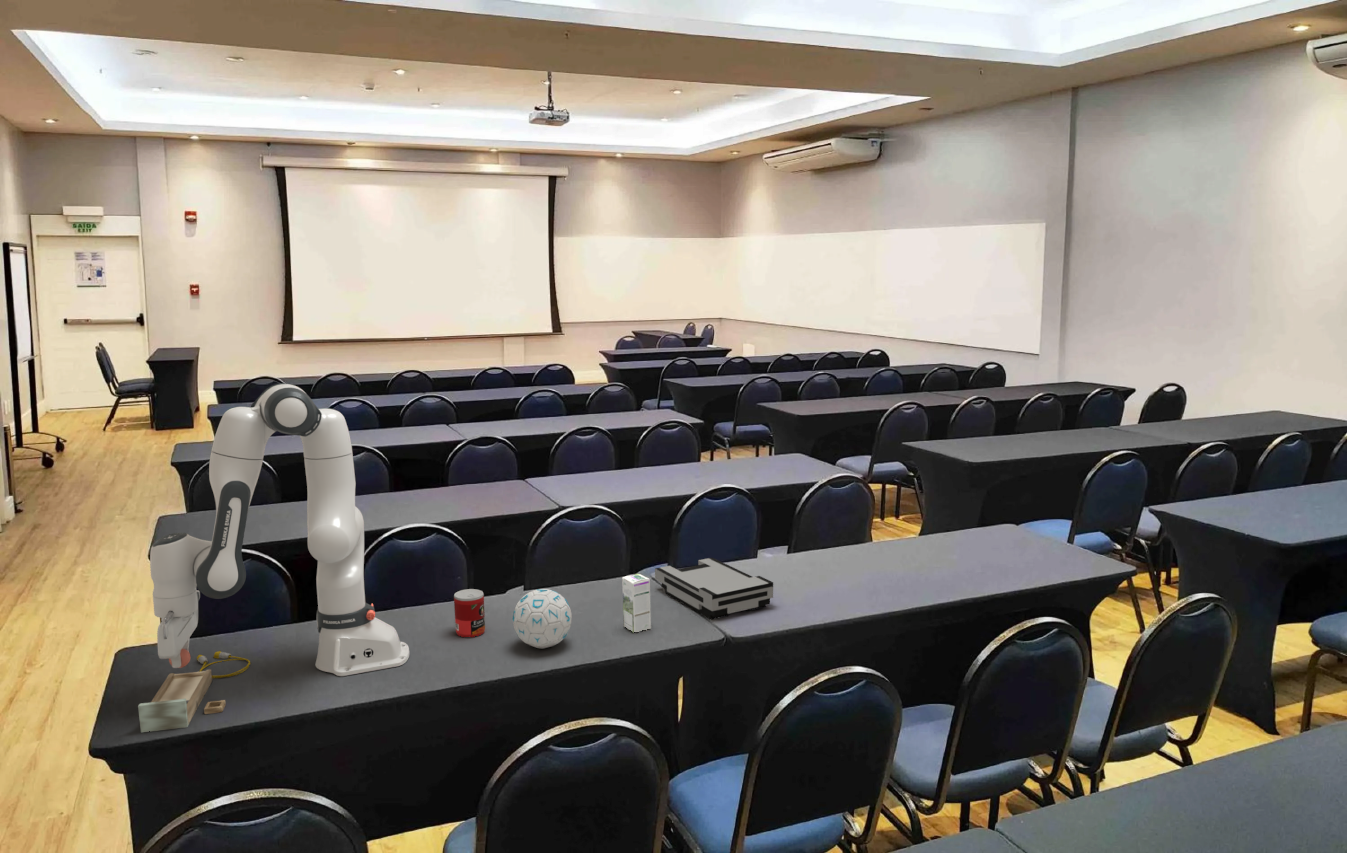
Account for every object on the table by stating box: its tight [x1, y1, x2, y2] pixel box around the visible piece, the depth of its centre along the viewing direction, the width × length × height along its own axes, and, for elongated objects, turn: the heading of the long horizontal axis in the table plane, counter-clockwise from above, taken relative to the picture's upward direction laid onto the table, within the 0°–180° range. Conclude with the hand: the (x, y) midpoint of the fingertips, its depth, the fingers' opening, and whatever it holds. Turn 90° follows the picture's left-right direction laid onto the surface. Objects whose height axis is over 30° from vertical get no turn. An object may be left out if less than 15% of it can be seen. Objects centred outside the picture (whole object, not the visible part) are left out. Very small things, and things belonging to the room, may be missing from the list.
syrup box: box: [621, 573, 652, 634], centre depth 253 cm, size 6×6×14 cm
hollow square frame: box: [203, 699, 227, 715], centre depth 209 cm, size 4×4×1 cm
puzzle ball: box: [512, 588, 573, 649], centre depth 242 cm, size 15×15×15 cm
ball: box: [168, 648, 191, 669], centre depth 215 cm, size 4×4×4 cm
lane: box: [137, 668, 213, 733], centre depth 211 cm, size 9×24×6 cm, turn 14°
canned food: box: [453, 588, 486, 638], centre depth 251 cm, size 8×8×11 cm
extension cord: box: [196, 650, 251, 679], centre depth 232 cm, size 12×16×2 cm
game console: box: [654, 557, 774, 620], centre depth 276 cm, size 21×32×8 cm, turn 31°
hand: (180, 661), depth 216 cm, fingers closed on ball, 4 cm apart
